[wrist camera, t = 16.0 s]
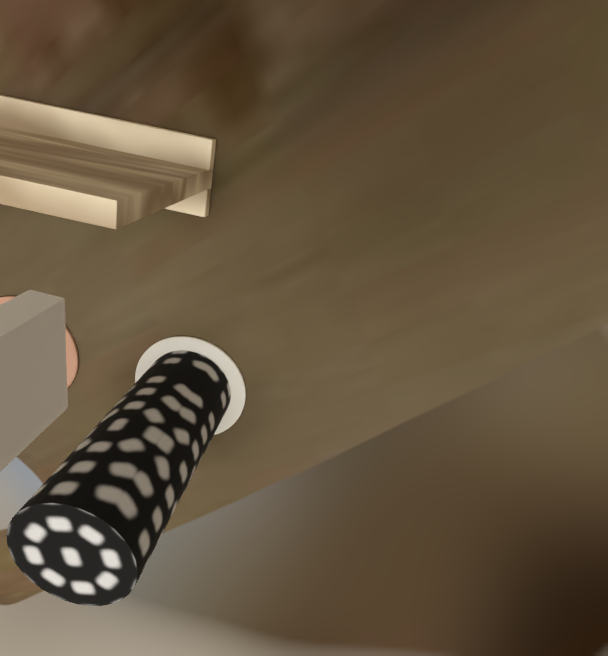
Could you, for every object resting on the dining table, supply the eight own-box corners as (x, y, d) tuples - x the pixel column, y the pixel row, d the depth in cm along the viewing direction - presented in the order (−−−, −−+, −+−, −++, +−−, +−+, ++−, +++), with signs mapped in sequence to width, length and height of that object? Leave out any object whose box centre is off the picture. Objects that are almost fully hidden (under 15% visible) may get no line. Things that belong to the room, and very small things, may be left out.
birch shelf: (0, 94, 40) (-217, 83, 26) (216, 139, 39) (118, 154, 25) (5, 170, 43) (-191, 200, 28) (208, 214, 42) (115, 269, 27)
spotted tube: (237, 425, 49) (151, 609, 31) (157, 425, 50) (31, 601, 32) (223, 349, 46) (118, 504, 28) (139, 351, 47) (-13, 501, 29)
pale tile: (139, 324, 47) (137, 325, 46) (253, 350, 46) (252, 352, 46) (134, 420, 51) (133, 422, 51) (238, 445, 51) (237, 447, 50)
